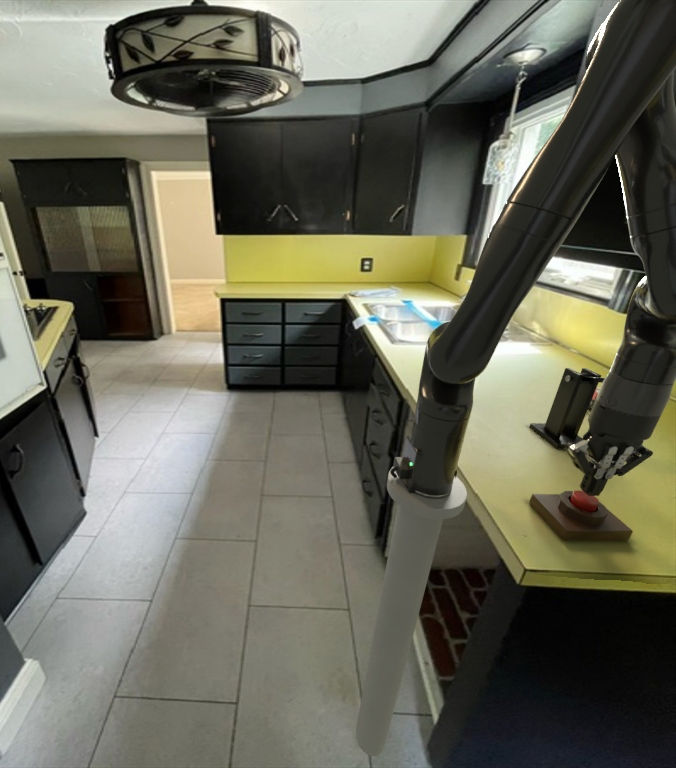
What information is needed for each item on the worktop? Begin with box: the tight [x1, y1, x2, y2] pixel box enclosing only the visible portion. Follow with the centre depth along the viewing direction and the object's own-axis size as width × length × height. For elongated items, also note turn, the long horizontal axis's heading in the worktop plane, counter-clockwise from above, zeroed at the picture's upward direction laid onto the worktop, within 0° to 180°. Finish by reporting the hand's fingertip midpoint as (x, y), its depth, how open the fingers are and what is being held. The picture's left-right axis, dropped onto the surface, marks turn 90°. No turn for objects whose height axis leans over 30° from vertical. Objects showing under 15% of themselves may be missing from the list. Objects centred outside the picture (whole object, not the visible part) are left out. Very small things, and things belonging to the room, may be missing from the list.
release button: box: [570, 490, 600, 512], centre depth 63 cm, size 4×4×2 cm
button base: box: [528, 490, 634, 542], centre depth 64 cm, size 11×9×4 cm
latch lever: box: [579, 372, 606, 384], centre depth 79 cm, size 13×4×4 cm, turn 0°
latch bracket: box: [529, 367, 602, 450], centre depth 87 cm, size 10×8×18 cm
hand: (588, 492), depth 62 cm, fingers closed
